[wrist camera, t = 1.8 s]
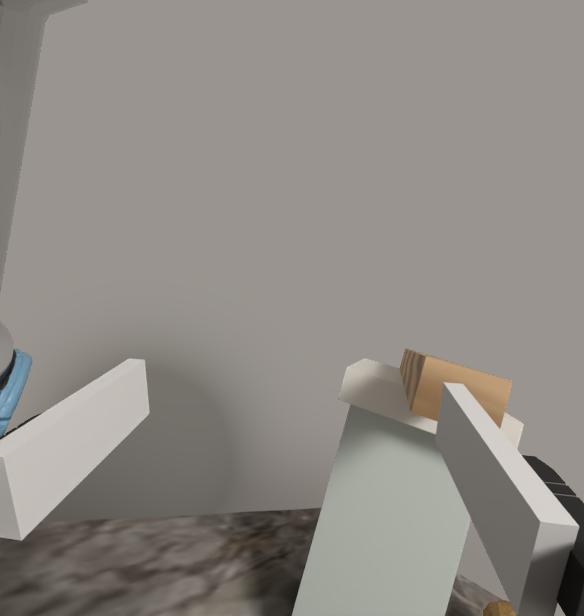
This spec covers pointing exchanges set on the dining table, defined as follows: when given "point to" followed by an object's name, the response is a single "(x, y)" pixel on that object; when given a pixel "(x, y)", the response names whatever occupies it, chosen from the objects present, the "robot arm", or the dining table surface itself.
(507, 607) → the potato
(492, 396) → the oak slat
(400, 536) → the box
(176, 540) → the dining table surface
